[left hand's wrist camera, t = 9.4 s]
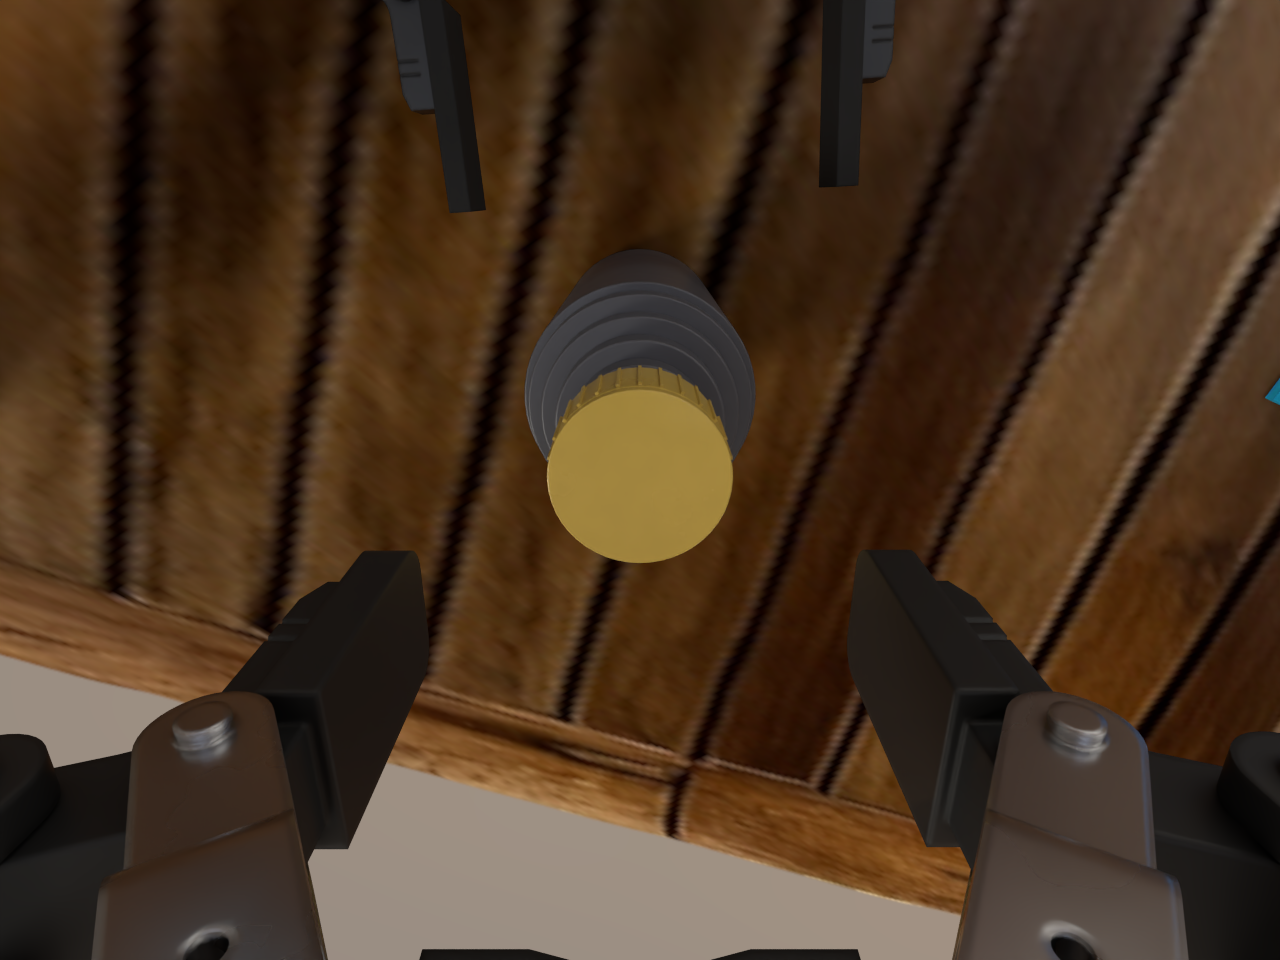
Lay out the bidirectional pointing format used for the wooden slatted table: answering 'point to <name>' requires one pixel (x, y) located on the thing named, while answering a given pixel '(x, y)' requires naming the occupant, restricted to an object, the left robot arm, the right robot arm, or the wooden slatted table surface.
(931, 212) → the wooden slatted table surface
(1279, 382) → the model building
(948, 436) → the wooden slatted table surface
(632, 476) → the cap
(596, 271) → the bottle
